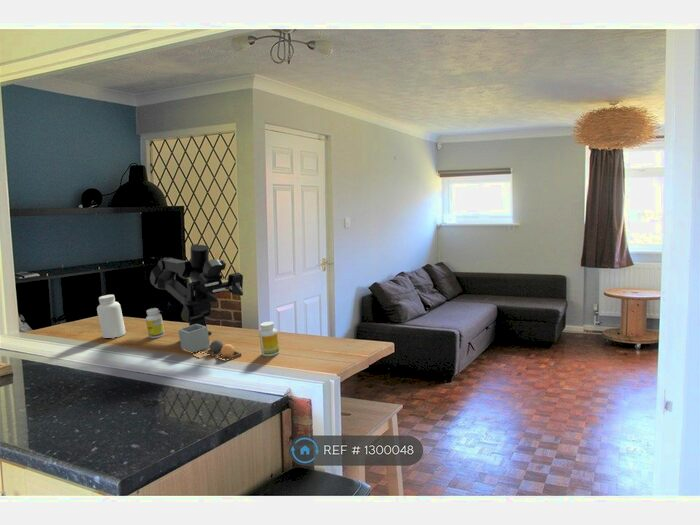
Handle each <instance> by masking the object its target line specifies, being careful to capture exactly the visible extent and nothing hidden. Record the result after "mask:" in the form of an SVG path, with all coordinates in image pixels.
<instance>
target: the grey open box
mask: <svg viewBox="0 0 700 525" xmlns="http://www.w3.org/2000/svg"><path fill="white" fill-rule="evenodd" d="M206 326H207V325H206ZM206 326H203V325H199V324H194V325H191V326H189V325H188V326H185V327H182V328H179V329H178V328H177V329H178V334H179V335H178V336H179V341H180V347H181V350H182V349H185V350H187V351H190V352H196V351H199V352H201V351H203V350H208V349H209V348H210V345H211V343H210V338H209V335H208V331H209V330H208V326H207V327H206ZM200 350H201V351H200ZM196 353H197V352H196Z"/></svg>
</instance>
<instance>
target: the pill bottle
mask: <svg viewBox="0 0 700 525" xmlns="http://www.w3.org/2000/svg"><path fill="white" fill-rule="evenodd" d="M98 302H99V305H98V306H97V307H96V311H97V317H98V321H99V326H100V330H101V335H102V338H103V339H104V338H112V339H116V338H115V337H117V338H119V337H123V336H125V334H126V327H125V322H124V316H123V313H122V312H123V311H122V308H121V307H122V306H121V304H120V303H119V301H116V297H115V294H106V295H101V296H99V297H98Z"/></svg>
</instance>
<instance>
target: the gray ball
mask: <svg viewBox="0 0 700 525" xmlns="http://www.w3.org/2000/svg"><path fill="white" fill-rule="evenodd" d="M223 346H224V344H223V342H222V341H221V340H217V339H216V340H213V341H212V342H211V343H210V349H211V351H212V352H211V353H213V354H216V353H219V352H221V349H222V347H223ZM210 349H209V350H210Z"/></svg>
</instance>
